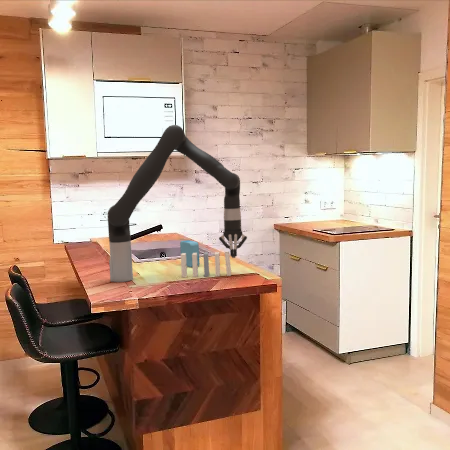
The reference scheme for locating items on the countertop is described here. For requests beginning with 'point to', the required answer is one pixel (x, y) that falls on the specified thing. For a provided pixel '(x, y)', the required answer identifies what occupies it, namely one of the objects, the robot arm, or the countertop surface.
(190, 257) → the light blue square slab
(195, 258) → the domino
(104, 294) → the countertop surface
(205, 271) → the domino
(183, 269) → the domino
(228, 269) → the domino
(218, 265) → the domino
